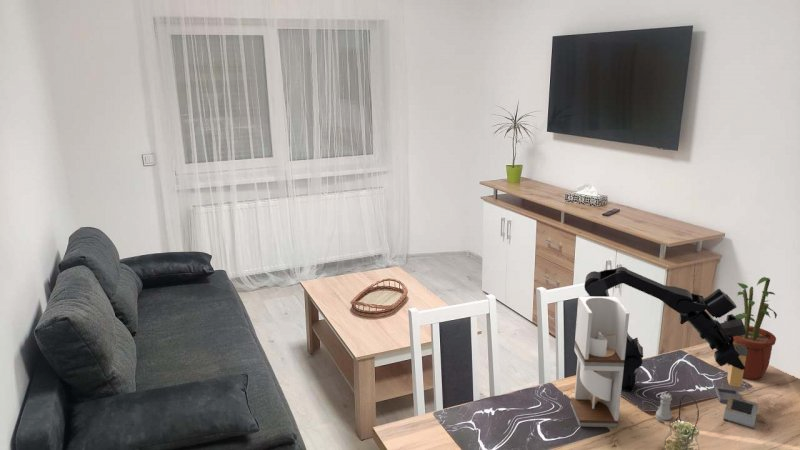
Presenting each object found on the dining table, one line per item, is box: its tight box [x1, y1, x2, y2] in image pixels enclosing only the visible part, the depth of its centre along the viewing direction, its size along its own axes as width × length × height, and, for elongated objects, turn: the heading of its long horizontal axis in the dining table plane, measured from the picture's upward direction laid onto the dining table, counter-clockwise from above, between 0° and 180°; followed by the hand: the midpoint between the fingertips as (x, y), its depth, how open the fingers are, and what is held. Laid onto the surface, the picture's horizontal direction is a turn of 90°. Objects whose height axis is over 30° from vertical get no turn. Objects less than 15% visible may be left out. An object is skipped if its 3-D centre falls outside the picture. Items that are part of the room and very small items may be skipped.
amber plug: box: [726, 343, 747, 388], centre depth 168 cm, size 3×4×12 cm
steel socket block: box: [723, 396, 760, 430], centre depth 163 cm, size 7×8×4 cm
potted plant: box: [727, 276, 778, 380], centre depth 184 cm, size 17×16×35 cm
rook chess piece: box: [654, 391, 673, 424], centre depth 164 cm, size 4×4×8 cm
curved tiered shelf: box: [569, 295, 630, 428], centre depth 162 cm, size 11×11×35 cm
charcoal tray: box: [714, 386, 742, 404], centre depth 173 cm, size 6×7×2 cm
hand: (742, 365), depth 168 cm, fingers closed on amber plug, 4 cm apart
